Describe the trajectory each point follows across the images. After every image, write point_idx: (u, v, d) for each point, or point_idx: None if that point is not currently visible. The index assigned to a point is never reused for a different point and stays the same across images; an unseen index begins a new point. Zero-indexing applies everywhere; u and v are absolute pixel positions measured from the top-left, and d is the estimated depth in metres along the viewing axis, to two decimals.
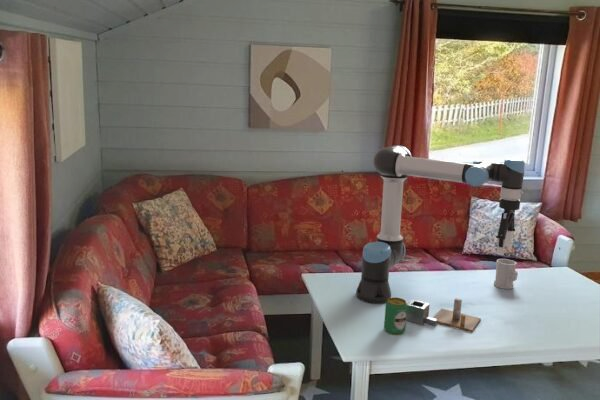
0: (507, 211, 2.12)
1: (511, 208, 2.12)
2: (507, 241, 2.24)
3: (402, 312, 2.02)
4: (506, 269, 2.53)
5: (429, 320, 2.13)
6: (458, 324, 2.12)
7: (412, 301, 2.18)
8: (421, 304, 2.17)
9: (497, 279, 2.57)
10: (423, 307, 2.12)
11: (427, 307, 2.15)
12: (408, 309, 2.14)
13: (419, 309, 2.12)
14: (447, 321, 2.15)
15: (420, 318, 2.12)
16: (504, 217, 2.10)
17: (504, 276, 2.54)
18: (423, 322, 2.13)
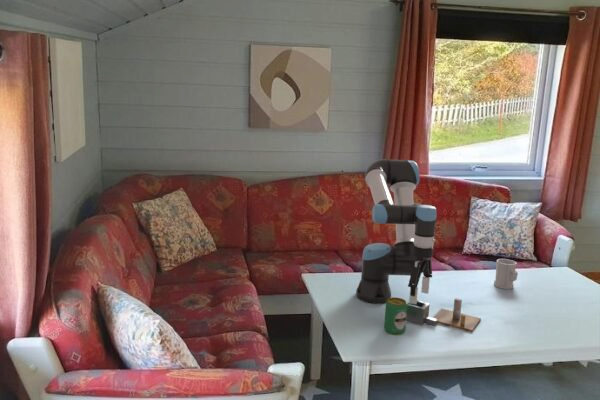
0: (419, 259, 2.08)
1: (423, 256, 2.07)
2: (424, 288, 2.19)
3: (402, 312, 2.02)
4: (506, 269, 2.53)
5: (429, 320, 2.13)
6: (458, 324, 2.12)
7: None
8: (421, 304, 2.17)
9: (497, 279, 2.57)
10: (423, 307, 2.12)
11: (427, 307, 2.15)
12: (408, 309, 2.14)
13: (419, 309, 2.12)
14: (447, 321, 2.15)
15: (420, 318, 2.12)
16: (415, 265, 2.06)
17: (504, 276, 2.54)
18: (423, 322, 2.13)
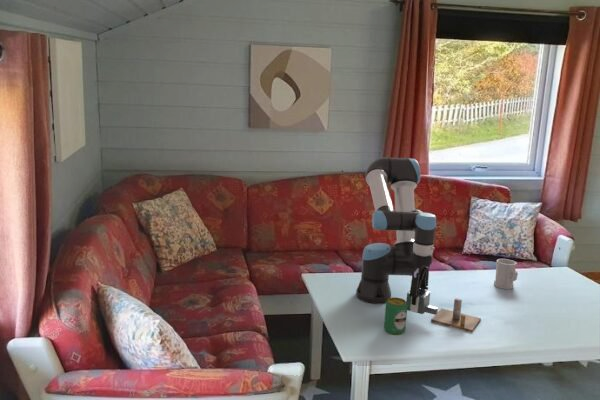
0: (418, 267, 2.09)
1: (422, 264, 2.08)
2: None
3: (402, 312, 2.02)
4: (506, 269, 2.53)
5: (430, 308, 2.13)
6: (458, 324, 2.12)
7: None
8: (422, 292, 2.17)
9: (497, 279, 2.57)
10: (424, 295, 2.12)
11: (428, 295, 2.14)
12: (409, 298, 2.14)
13: (420, 297, 2.11)
14: (447, 321, 2.15)
15: (420, 307, 2.12)
16: (414, 276, 2.07)
17: (504, 276, 2.54)
18: (424, 310, 2.13)
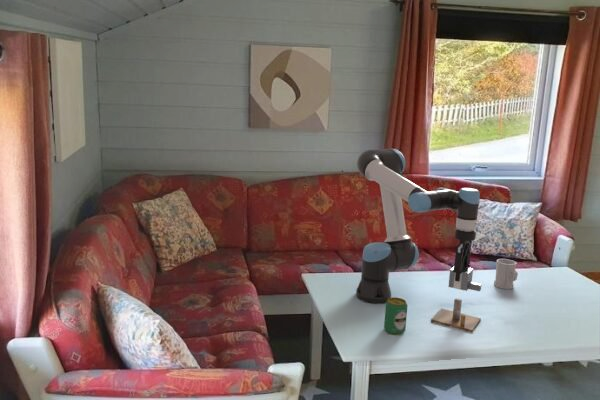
0: (462, 242, 2.07)
1: (466, 239, 2.07)
2: None
3: (402, 312, 2.02)
4: (506, 269, 2.53)
5: (473, 285, 2.11)
6: (458, 324, 2.12)
7: None
8: (464, 269, 2.15)
9: (497, 279, 2.57)
10: (467, 272, 2.10)
11: (471, 272, 2.12)
12: (452, 275, 2.12)
13: (464, 274, 2.09)
14: (447, 321, 2.15)
15: (464, 283, 2.10)
16: (458, 251, 2.06)
17: (504, 276, 2.54)
18: (467, 287, 2.11)
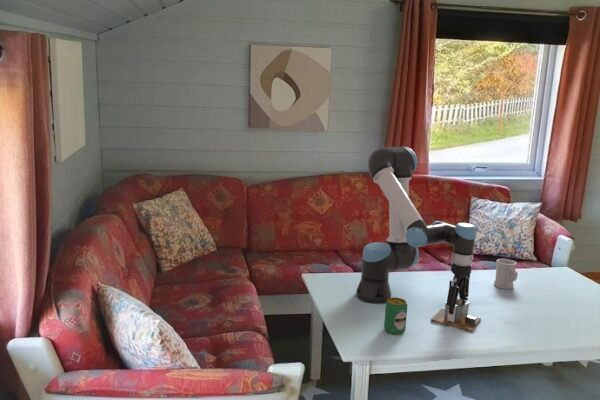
0: (456, 276, 2.11)
1: (460, 273, 2.10)
2: None
3: (402, 312, 2.02)
4: (506, 269, 2.53)
5: (468, 318, 2.13)
6: (458, 324, 2.12)
7: None
8: None
9: (497, 279, 2.57)
10: (462, 305, 2.13)
11: (466, 305, 2.15)
12: (447, 307, 2.15)
13: (459, 307, 2.12)
14: (447, 321, 2.15)
15: (459, 316, 2.13)
16: (452, 285, 2.09)
17: (504, 276, 2.54)
18: None
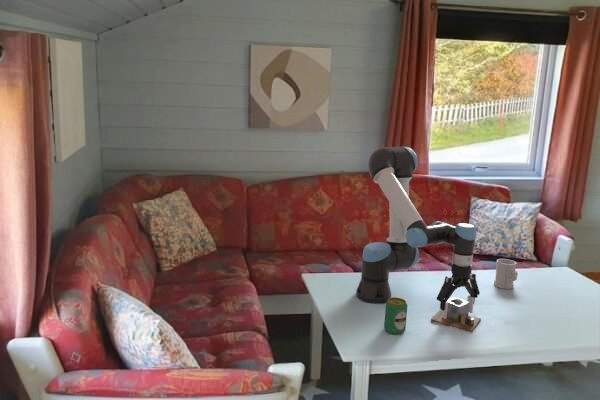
0: (453, 275, 2.12)
1: (457, 273, 2.10)
2: (469, 306, 2.20)
3: (402, 312, 2.02)
4: (506, 269, 2.53)
5: (465, 319, 2.13)
6: (458, 324, 2.12)
7: (452, 298, 2.19)
8: None
9: (497, 279, 2.57)
10: (460, 305, 2.13)
11: (466, 306, 2.15)
12: None
13: (455, 306, 2.13)
14: (447, 321, 2.15)
15: (455, 315, 2.14)
16: (446, 281, 2.11)
17: (504, 276, 2.54)
18: (459, 320, 2.14)
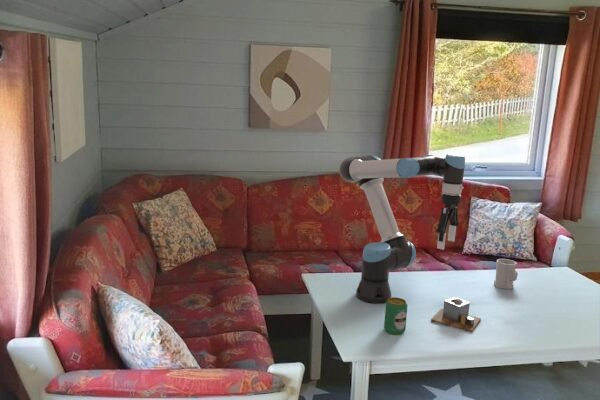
0: (448, 206, 2.15)
1: (451, 203, 2.14)
2: (451, 236, 2.27)
3: (402, 312, 2.02)
4: (506, 269, 2.53)
5: (465, 319, 2.13)
6: (458, 324, 2.12)
7: (452, 298, 2.19)
8: None
9: (497, 279, 2.57)
10: (460, 305, 2.13)
11: (466, 306, 2.15)
12: (445, 305, 2.17)
13: (455, 306, 2.13)
14: (447, 321, 2.15)
15: (455, 315, 2.14)
16: (444, 212, 2.13)
17: (504, 276, 2.54)
18: (459, 320, 2.14)
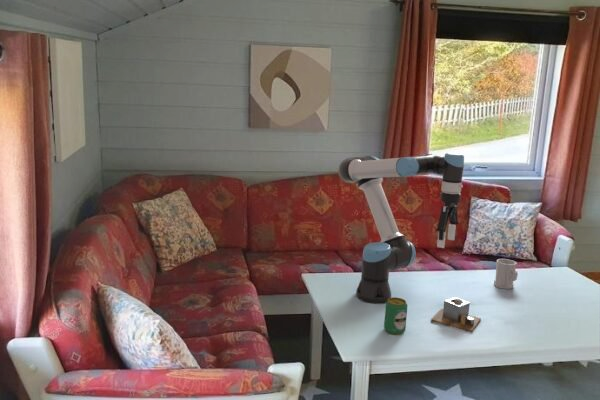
0: (447, 204, 2.15)
1: (451, 201, 2.15)
2: (450, 234, 2.27)
3: (402, 312, 2.02)
4: (506, 269, 2.53)
5: (465, 319, 2.13)
6: (458, 324, 2.12)
7: (452, 298, 2.19)
8: None
9: (497, 279, 2.57)
10: (460, 305, 2.13)
11: (466, 306, 2.15)
12: (445, 305, 2.17)
13: (455, 306, 2.13)
14: (447, 321, 2.15)
15: (455, 315, 2.14)
16: (444, 210, 2.13)
17: (504, 276, 2.54)
18: (459, 320, 2.14)
